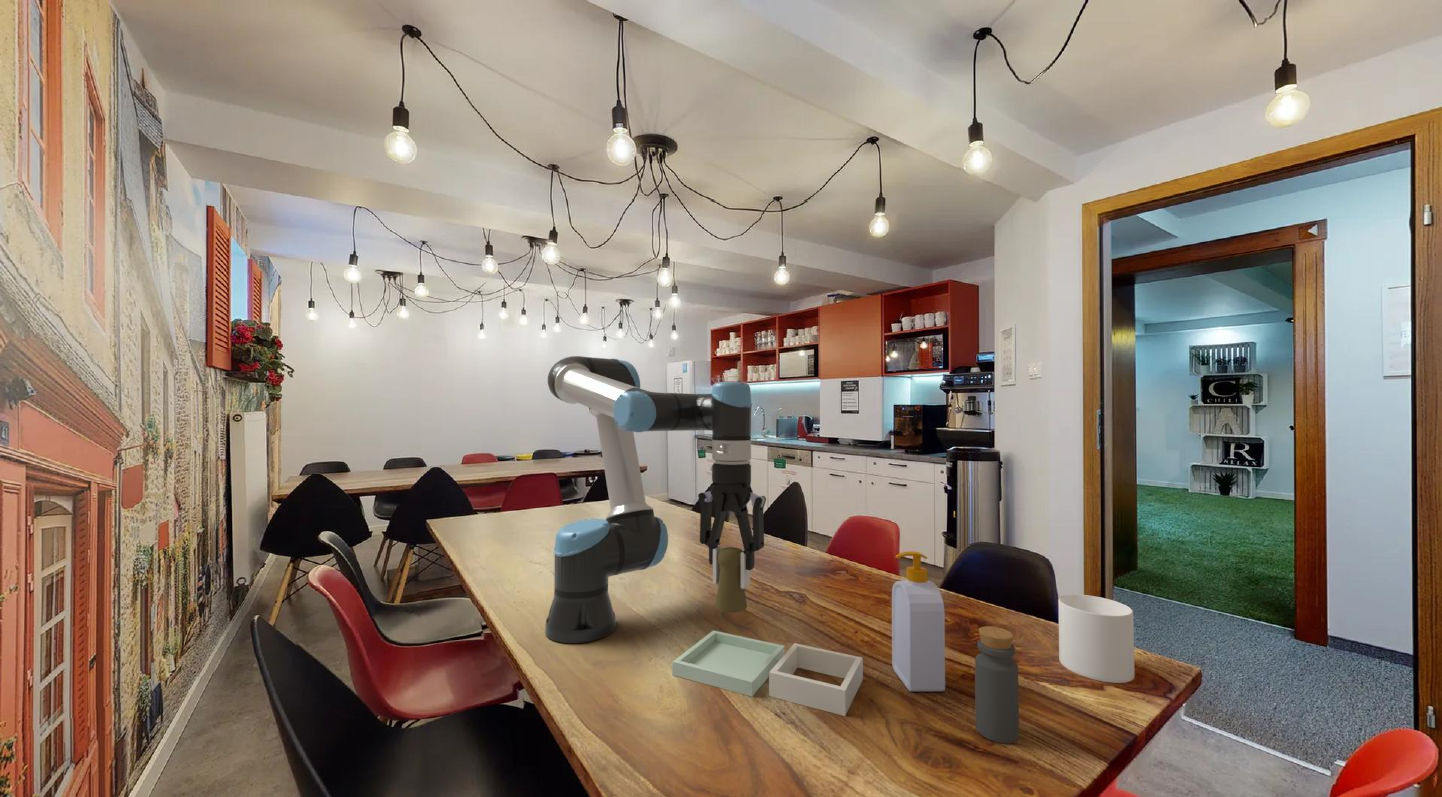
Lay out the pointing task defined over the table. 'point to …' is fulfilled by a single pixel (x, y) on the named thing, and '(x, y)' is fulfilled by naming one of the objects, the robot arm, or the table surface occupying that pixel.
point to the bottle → (996, 686)
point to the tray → (729, 662)
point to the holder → (812, 690)
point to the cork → (730, 581)
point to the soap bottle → (918, 629)
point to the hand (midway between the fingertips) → (731, 583)
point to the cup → (1096, 638)
